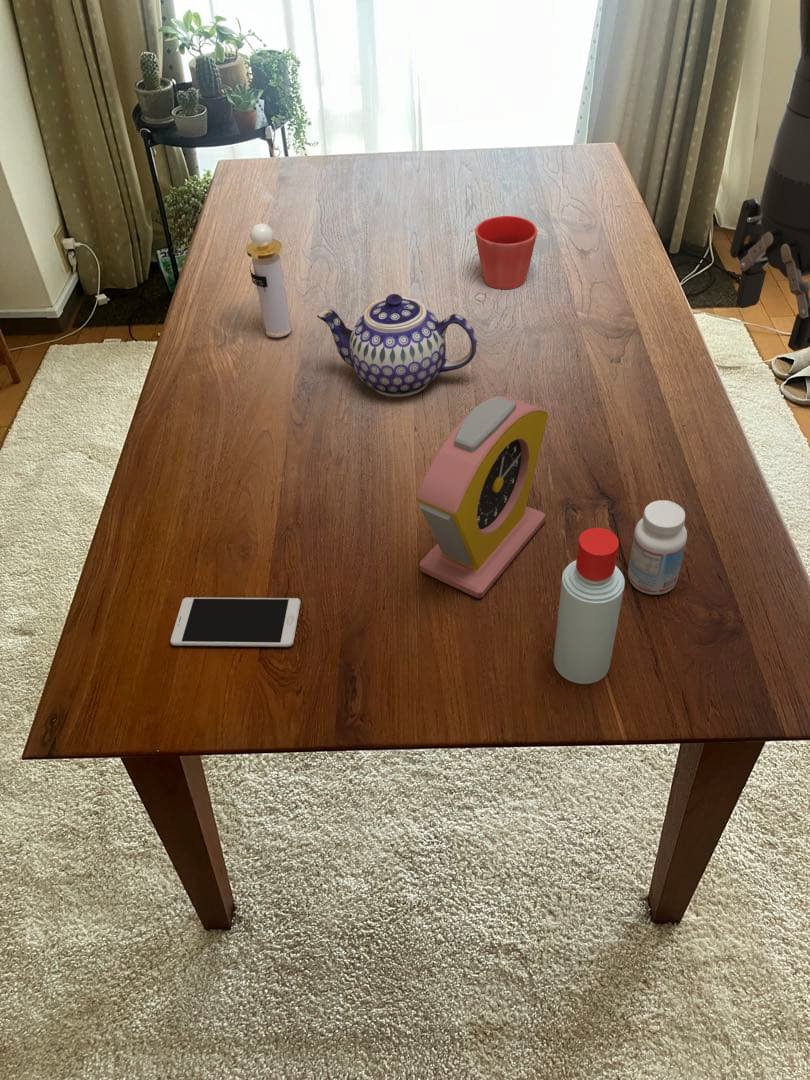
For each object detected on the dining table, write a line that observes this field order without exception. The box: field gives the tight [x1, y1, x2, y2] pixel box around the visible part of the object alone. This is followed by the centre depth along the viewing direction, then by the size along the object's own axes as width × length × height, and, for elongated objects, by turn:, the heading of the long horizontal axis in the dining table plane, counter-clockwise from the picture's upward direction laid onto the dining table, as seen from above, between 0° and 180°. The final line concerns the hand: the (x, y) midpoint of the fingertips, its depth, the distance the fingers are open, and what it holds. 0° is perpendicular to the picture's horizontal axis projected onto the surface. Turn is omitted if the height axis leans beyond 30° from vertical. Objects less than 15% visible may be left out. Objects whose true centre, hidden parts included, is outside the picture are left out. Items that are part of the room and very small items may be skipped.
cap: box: [575, 527, 620, 581], centre depth 90 cm, size 4×4×4 cm
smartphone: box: [169, 596, 302, 648], centre depth 109 cm, size 8×1×15 cm
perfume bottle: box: [245, 222, 292, 338], centre depth 148 cm, size 6×6×20 cm
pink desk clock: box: [416, 395, 549, 599], centre depth 109 cm, size 22×9×22 cm, turn 145°
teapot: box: [316, 293, 478, 398], centre depth 139 cm, size 25×15×15 cm, turn 76°
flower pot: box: [474, 215, 538, 290], centre depth 161 cm, size 11×11×10 cm
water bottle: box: [552, 559, 626, 685], centre depth 96 cm, size 6×6×19 cm
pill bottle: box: [627, 499, 688, 596], centre depth 107 cm, size 6×6×11 cm
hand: (771, 325), depth 88 cm, fingers open, 8 cm apart
